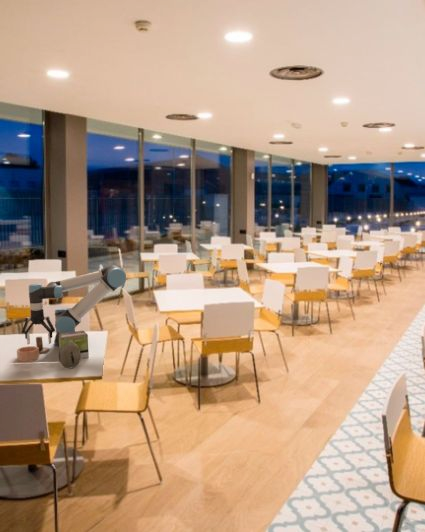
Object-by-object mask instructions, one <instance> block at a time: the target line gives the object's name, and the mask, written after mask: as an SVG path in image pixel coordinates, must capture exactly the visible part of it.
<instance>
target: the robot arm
mask: <svg viewBox="0 0 425 532" xmlns="http://www.w3.org/2000/svg"><path fill="white" fill-rule="evenodd" d="M126 281H127V273H126V272H125V270H124V269H123V268H122V267H121V266H119V265H115V264H114V265H110V266H109V265H108V266H107V267H104V268H100V269H99V270H97V271H94V272H90V273H86V274H82V275H78V276H73V277H70V278H65V279H62V280H57V281H50V282H48V283H47V285H46V286H42V284H41V283H30V284H29V285H28V297H29V309H30V317H29V316H27V317H25V322H24V323H23V327H22V330H21V334H24V335H25V340H26V343H27V344H26V345H30V343H31V340H30V339H31V338H30V332H29V331H30V330H31V329H32V327H33V326H34V325H41V326H42V327H43V328H45V330H46V331H47V332H48V333H47V336H48V337H47V338H48V344H49V345H50V344H51V343H52V338H53V333H54V332H56V333H55V337H54V341H53V343H54V344H53V345H54V346H56V347H59V334H61V333H69V332H76V327H78V326H79V325H80V324H81V322H82V318H84V317H85V315H87V313H89V312H90V311H91V310H92V309H93V308H94V307H95V306H96V305H98V304H99V302H101V300H103V299H104V298H105V297H106V296H107V295H108V294H109V293H111V292H112V293H113V292H115V291H116V290H117V289H118V288H120V287H122V286H123V285H125V284H126ZM92 285H95V286H94V287H93V288H92V289H91V290H90V291H88V293H87V294H85V295H84V297H82V298H81V299H80V300H79V301H78V302H77V303H76V304H75V305H73V307H65V308H57V309H55V310H54V320H55V322H54V325H53V323H52V322H51V320H50V316H45V315H44V314H45V313H44V301H43V300H48V299H49V300H50V299H60V298H63V296H64V295H63V293H65V292H68V291H73V290H76V289H81V288H86V287H89V286H92ZM30 321H31V323H30V325H28V324H29V322H30ZM45 321H46V322H45ZM27 326H28V327H27ZM54 326H55V327H54Z"/></svg>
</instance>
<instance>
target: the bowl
mask: <svg viewBox="0 0 425 532" xmlns="http://www.w3.org/2000/svg"><path fill="white" fill-rule="evenodd" d="M16 358H17V361H19V362H32V361H35V360H38V359H39V358H40V354H39V348H38V347H37V346H34V345H31V346H30V345H29V346H22V347H20V348H18V349H16Z"/></svg>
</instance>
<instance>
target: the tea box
mask: <svg viewBox="0 0 425 532" xmlns="http://www.w3.org/2000/svg"><path fill="white" fill-rule="evenodd" d="M69 341H70V342H74V343H75V344H76V345H77V346H78V347H79V350H80V354H81V358H80V360H82V359H88V358H89V354H90V353H89V336H88V333H87V332H86V331H85V330H77V331H76V330H75V332H69V333H61V334H59V346H58V347H59V348H58V349H59V351H60V348H61V346H62V345H63V344H64V343H65V342H69ZM59 351H58V352H59Z"/></svg>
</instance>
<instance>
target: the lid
mask: <svg viewBox="0 0 425 532" xmlns="http://www.w3.org/2000/svg"><path fill="white" fill-rule="evenodd" d="M35 343H36V344H35V345H36V347H38V348H39V355H44V354H43V353H47V352H48V353H49V352H50V351H51V350H49V348H50V347H44V345H43V336H36V337H35ZM48 353H47V354H48Z"/></svg>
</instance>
